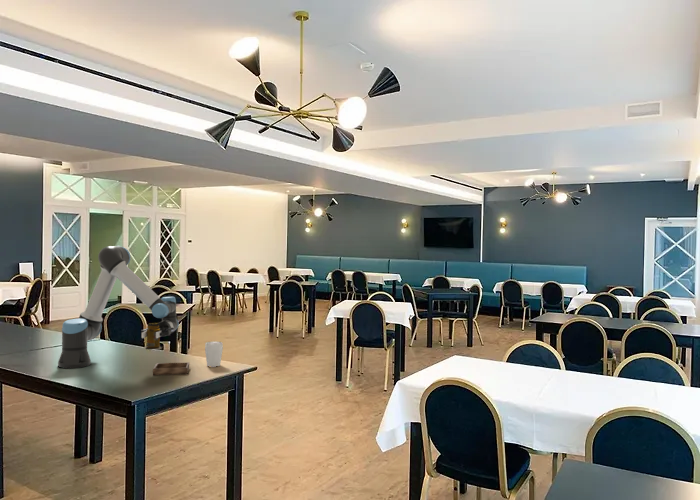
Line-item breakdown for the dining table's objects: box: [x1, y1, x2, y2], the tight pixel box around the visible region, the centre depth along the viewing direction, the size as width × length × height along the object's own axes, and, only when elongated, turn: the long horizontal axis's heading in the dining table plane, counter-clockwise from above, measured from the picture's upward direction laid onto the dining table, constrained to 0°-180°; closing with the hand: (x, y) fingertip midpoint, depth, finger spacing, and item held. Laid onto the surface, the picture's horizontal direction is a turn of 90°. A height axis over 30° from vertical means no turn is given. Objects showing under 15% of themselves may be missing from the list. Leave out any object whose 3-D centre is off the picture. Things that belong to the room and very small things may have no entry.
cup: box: [204, 340, 224, 368], centre depth 289 cm, size 9×9×12 cm
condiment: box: [144, 322, 162, 350], centre depth 271 cm, size 7×8×12 cm
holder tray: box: [152, 362, 190, 376], centre depth 274 cm, size 16×13×3 cm
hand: (149, 335), depth 266 cm, fingers closed on condiment, 6 cm apart
